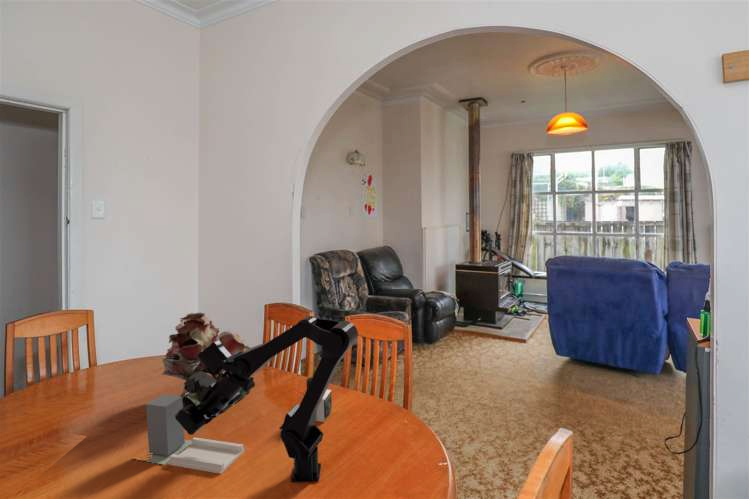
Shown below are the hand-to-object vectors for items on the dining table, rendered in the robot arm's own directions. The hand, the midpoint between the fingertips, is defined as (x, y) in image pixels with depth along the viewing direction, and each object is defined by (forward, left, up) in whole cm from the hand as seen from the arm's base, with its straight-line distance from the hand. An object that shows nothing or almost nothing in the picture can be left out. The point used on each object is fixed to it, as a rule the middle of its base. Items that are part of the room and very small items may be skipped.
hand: (192, 425), depth 108 cm
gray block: (+3, +8, -8) cm, 11 cm away
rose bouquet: (+34, +9, -8) cm, 36 cm away
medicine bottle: (+19, -30, -8) cm, 37 cm away
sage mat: (+3, +9, -8) cm, 12 cm away
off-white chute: (-1, -4, -8) cm, 9 cm away
